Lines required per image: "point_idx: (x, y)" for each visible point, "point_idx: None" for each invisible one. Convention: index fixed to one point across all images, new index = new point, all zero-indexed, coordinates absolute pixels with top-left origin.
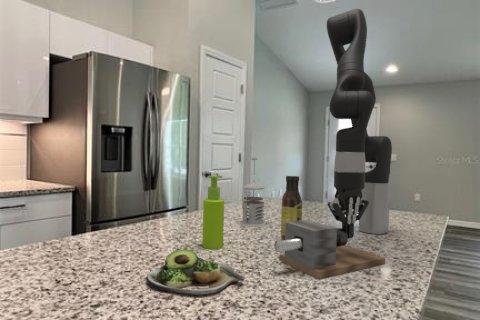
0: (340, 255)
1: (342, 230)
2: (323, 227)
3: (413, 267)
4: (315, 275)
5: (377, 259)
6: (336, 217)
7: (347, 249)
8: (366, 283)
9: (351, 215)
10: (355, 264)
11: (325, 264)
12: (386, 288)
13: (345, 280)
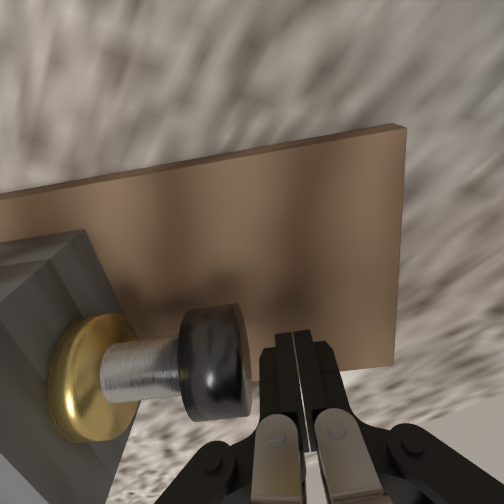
0: (236, 301)
1: (227, 418)
2: None
3: (442, 387)
4: None
5: (348, 369)
6: (187, 488)
7: (341, 236)
8: (195, 427)
9: (392, 475)
10: None
11: None
12: None
13: (149, 404)
